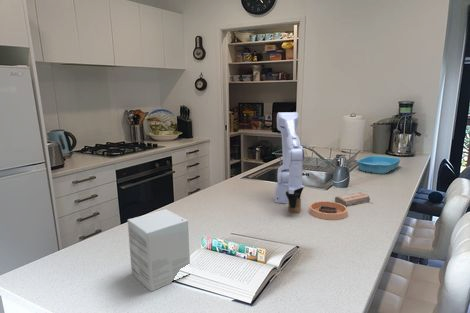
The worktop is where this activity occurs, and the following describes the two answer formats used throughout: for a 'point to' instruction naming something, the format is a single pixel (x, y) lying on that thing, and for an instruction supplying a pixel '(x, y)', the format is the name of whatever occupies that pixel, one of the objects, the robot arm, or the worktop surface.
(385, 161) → the casserole dish
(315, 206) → the orange round shallow bowl
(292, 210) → the wood hatch door
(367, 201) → the packaged product
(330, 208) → the hinged hatch frame
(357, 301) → the worktop surface
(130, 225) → the supplement box
